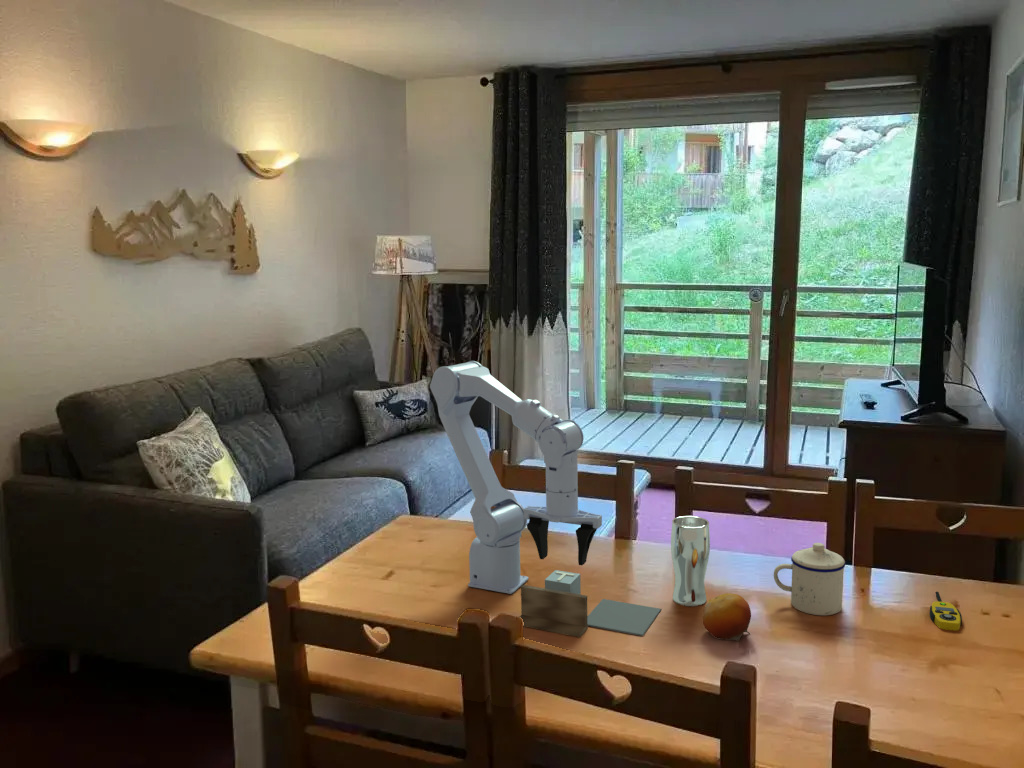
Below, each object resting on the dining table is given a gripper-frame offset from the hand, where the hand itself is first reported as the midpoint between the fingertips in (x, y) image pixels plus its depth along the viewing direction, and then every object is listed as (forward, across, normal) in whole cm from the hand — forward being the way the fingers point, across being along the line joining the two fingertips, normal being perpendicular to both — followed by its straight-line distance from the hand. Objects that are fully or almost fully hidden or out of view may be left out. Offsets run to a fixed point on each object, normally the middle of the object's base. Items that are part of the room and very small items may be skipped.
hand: (562, 560), depth 157 cm
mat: (+8, +12, -2) cm, 15 cm away
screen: (+8, +2, -10) cm, 13 cm away
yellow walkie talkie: (+9, +63, +22) cm, 67 cm away
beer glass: (+8, +21, +10) cm, 25 cm away
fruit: (+8, +30, -1) cm, 31 cm away
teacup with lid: (+8, +41, +16) cm, 45 cm away
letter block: (+8, 0, 0) cm, 8 cm away
